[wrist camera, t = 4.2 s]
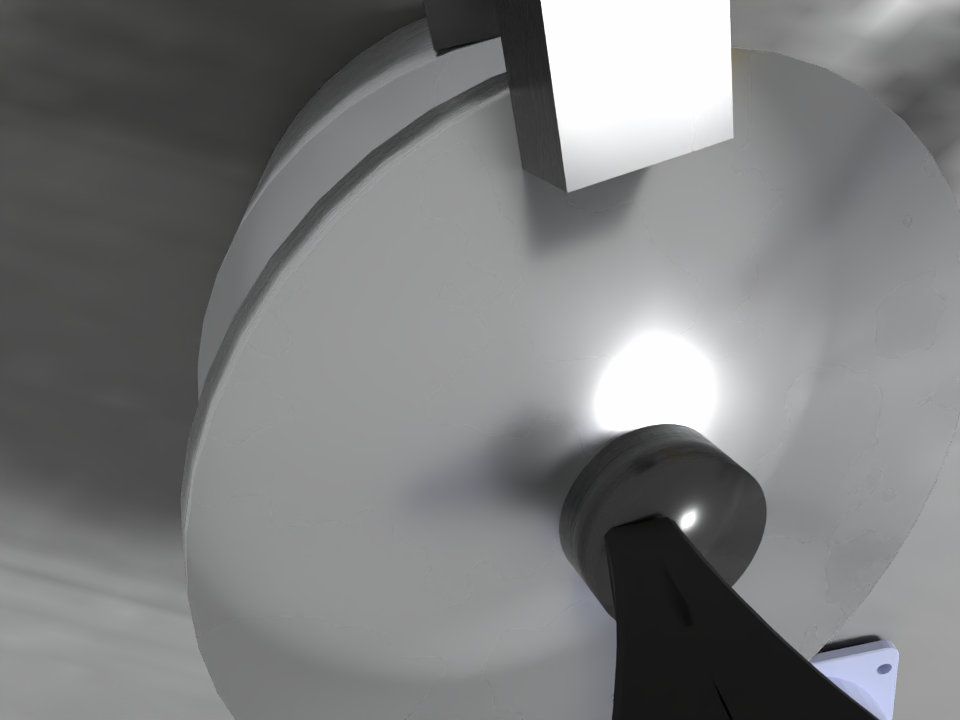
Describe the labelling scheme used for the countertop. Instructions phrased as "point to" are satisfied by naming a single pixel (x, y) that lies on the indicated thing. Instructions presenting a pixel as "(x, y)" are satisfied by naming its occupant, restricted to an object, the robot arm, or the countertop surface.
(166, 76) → the countertop surface
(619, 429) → the lid
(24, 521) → the countertop surface
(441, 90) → the pot
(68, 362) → the countertop surface
